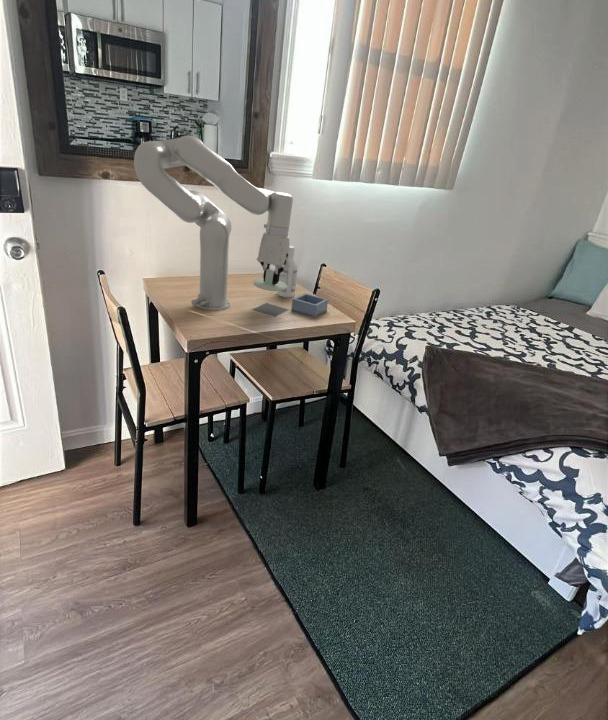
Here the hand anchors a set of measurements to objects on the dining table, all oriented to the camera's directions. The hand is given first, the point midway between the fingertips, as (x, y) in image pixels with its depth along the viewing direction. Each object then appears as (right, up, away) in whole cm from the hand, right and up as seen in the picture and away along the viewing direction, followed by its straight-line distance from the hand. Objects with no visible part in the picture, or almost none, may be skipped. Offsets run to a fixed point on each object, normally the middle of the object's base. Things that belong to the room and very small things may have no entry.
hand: (270, 282), depth 162 cm
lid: (0, -1, +1) cm, 1 cm away
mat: (0, -10, +5) cm, 11 cm away
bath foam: (+4, -2, +23) cm, 24 cm away
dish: (+14, -10, +9) cm, 19 cm away
